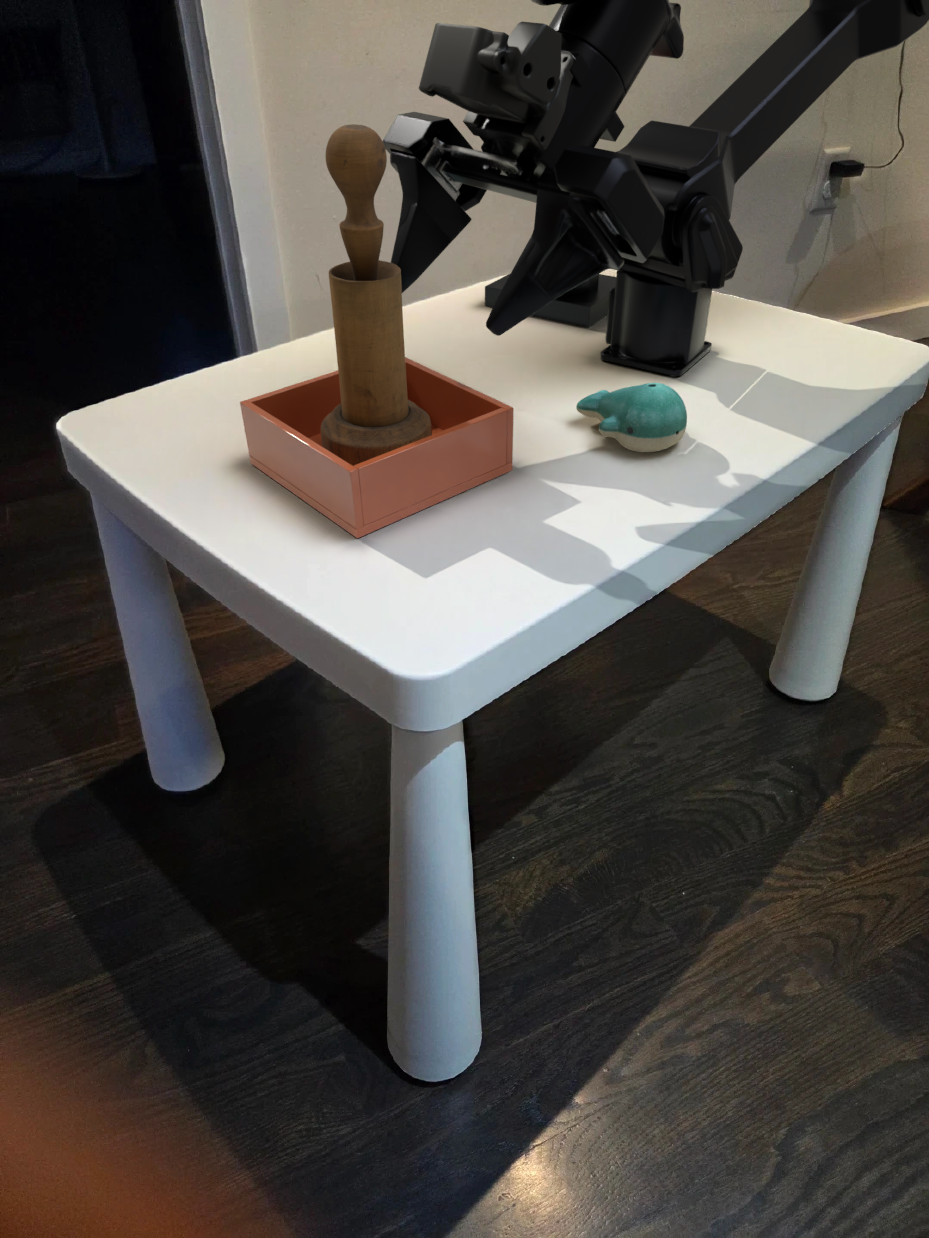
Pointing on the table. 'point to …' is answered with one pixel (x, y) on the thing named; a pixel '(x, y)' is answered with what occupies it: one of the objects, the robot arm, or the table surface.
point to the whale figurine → (638, 416)
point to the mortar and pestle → (367, 315)
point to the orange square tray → (392, 482)
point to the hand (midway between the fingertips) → (439, 310)
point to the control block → (569, 301)
